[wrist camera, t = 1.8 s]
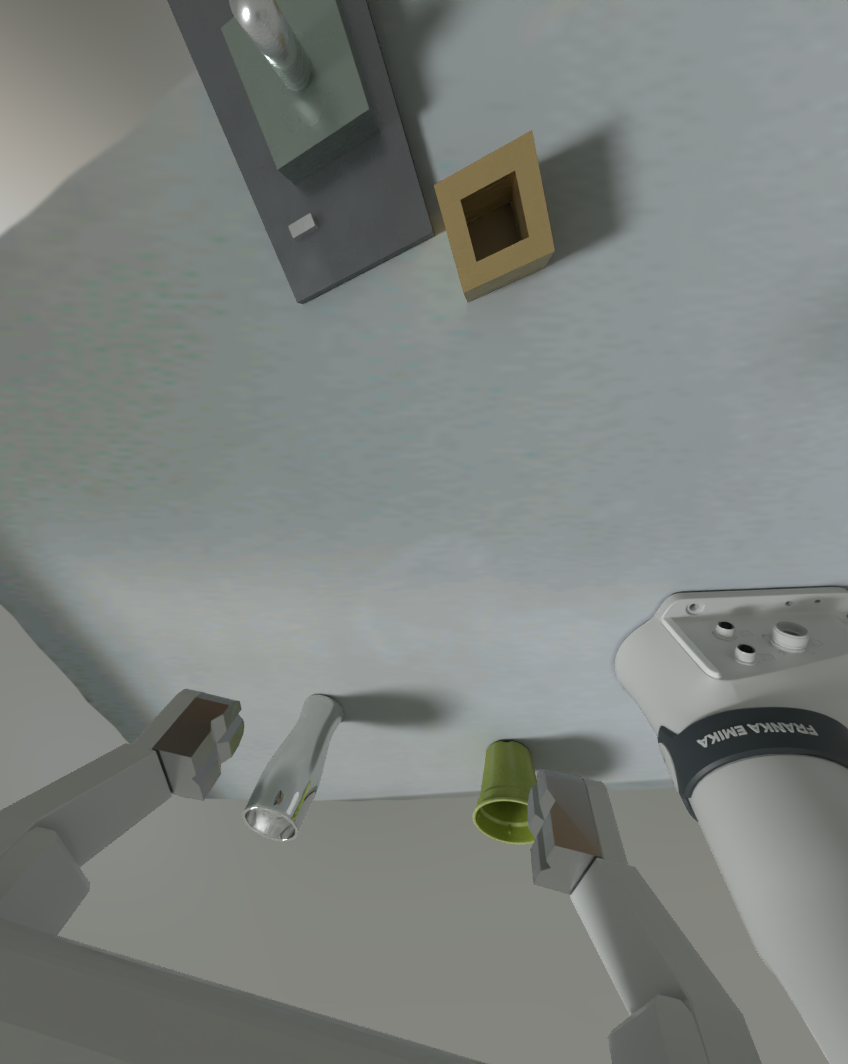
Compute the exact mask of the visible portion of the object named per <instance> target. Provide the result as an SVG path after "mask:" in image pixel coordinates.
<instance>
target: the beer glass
mask: <svg viewBox="0 0 848 1064" xmlns="http://www.w3.org/2000/svg"><path fill="white" fill-rule="evenodd" d="M343 714H344V713H343V709H342V707H341V705H340V704H339V703H338V702H337V701H335V700H334V699H332V698H330V697H328V696H325V695H312V696H309V697H308V698H307V699H306V700H305V702H304V704H303V707H302V711H301V714H300V716H299V719H298V721H297V723H296V725H295V726H294V728H293V729H292V731H291V732H290V734H289V735H288V736H287V738H286V739H285V740H284V741H283V743H282V744H281V745H280V747H279V748H278V749H277V751H276V752H275V754H274V755H273V756H272V758H271V759H270V761H269V762H268V764H267V766H266V767H265V769H264V771H263V773H262V774H261V776H260V778H259V780H258V782H257V784H256V786H255V788H254V790H253V793H252V795H251V797H250V799H249V801H248V804H247V806H246V808H245V810H244V811H243V814H242V818H243V821H244V823H245V824H246V825H247V826H248V827H249V828H250V829H251V830H252V831H253V832H255V833H257V834H258V835H260V836H262V837H265V838H268V839H270V840H274V841H283V842H285V841H291V840H293V839H295V838H296V837H297V835H298V832H299V830H300V828H301V826H302V824H303V821H304V819H305V817H306V815H307V813H308V811H309V809H310V807H311V804H312V802H313V800H314V797H315V795H316V792H317V789H318V786H319V783H320V780H321V776H322V773H323V768H324V764H325V760H326V755H327V751H328V747H329V743H330V740H331V738H332V735H333V733H334V731H335V730H336V728H337V727H338V725H339V723H340V722H341V720H342V718H343Z"/></svg>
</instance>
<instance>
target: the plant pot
mask: <svg viewBox="0 0 848 1064" xmlns="http://www.w3.org/2000/svg"><path fill="white" fill-rule="evenodd" d="M535 784H537V779H536V775H535V771H534V766H533V762H532V758H531V755H530V752H529V750H528V749H527V748H526V747H525V746H523V745H522V744H520V743H517V742H514V741H510V742H503V741H497V742H495V743H493V744H491V745H490V746H489V747H488V748H487V751H486V758H485V766H484V773H483V780H482V787H481V794H480V797H479V799H478V803H477V806H476V808H475V810H474V812H473V821H474V824H475V825H476V827H477V828H478V829H479V830H480V831H481V832H482V833H483V834H485V835H487V836H489V837H490V838H493V839H495V840H498V841H500V842H505V843H511V844H531V843H534V841H535V838H534V836H533V834H532V833H531V831H530V829H529V828H528V806H527V805H528V798H529V793H530V790H531V787H532V786H533V785H535Z"/></svg>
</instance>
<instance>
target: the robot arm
mask: <svg viewBox="0 0 848 1064" xmlns="http://www.w3.org/2000/svg"><path fill="white" fill-rule="evenodd" d="M692 604H694V605H693V606H690V605H692ZM615 672H616V676H617V679H618V681H619V683H620V684H621V686H622V687H623V688H624V689H625V691H626V692H627V693H628V694H629V695H630V696H631V697H632V699H633V700H634V701H635V703H636V704H637V705H638V707H639V708H640V710H641V711H642V713H643V714H644V716H645V717H646V719H647V721H648V722H649V724H650V726H651V727H652V729H653V731H654V732H655V734H656V736H657V738H658V743H659V750H660V753H661V755H662V758H663V760H664V763H665V765H666V767H667V770H668V772H669V774H670V777H671V779H672V781H673V784H674V786H675V788H676V790H677V792H679V794H680V796H681V798H682V800H683V802H684V804H685V806H686V808H687V810H688V812H689V813H690V815H691V816H692V817H693V818H694V819H695V820H696V821H697V822H699V824H700V827H701V829H702V831H703V833H704V836H705V838H706V840H707V842H708V845H709V847H710V849H711V851H712V853H713V856H714V858H715V860H716V863H717V865H718V867H719V869H720V871H721V874H722V876H723V878H724V880H725V883H726V885H727V887H728V889H729V892H730V894H731V896H732V898H733V900H734V903H735V905H736V907H737V909H738V911H739V914H740V916H741V918H742V921H743V923H744V925H745V927H746V929H747V931H748V934H749V936H750V938H751V940H752V942H753V945H754V947H755V949H756V950H757V952H758V954H759V955H760V957H761V958H762V960H763V961H764V963H765V964H766V965H767V967H768V968H769V969H770V970H771V971H772V972H773V973H774V974H775V975H776V977H777V978H778V980H779V981H780V983H781V984H782V986H783V987H784V989H785V990H786V992H787V994H788V995H789V997H790V998H791V1000H792V1002H793V1003H794V1005H795V1006H796V1008H797V1009H798V1011H799V1013H800V1015H801V1016H802V1018H803V1020H804V1021H805V1023H806V1025H807V1026H808V1028H809V1030H810V1031H811V1033H812V1035H813V1036H814V1038H815V1040H816V1041H817V1043H818V1045H819V1046H820V1048H821V1050H822V1052H823V1053H824V1055H825V1057H826V1058H827V1060H828V1062H829V1064H848V591H847V590H846V589H845V588H842V587H820V588H794V589H768V590H742V591H716V592H690V593H676V594H673V595H671V596H669V597H668V598H667V599H666V600H665V601H664V602H663V603H662V604H661V606H660V607H659V609H658V610H657V612H656V613H655V615H654V616H653V617H652V618H651V619H650V620H648V621H647V622H646V623H644V624H643V625H641V626H640V627H638V628H637V629H636V630H635V631H633V632H632V633H631V634H630V635H629V636H628V637H627V638H626V639H625V641H624V642H623V643H622V645H621V647H620V648H619V650H618V653H617V655H616V659H615ZM240 711H241V705H240V701H237V700H233V699H229V698H224V697H220V696H215V695H211V694H207V693H204V692H199V691H195V690H190V689H184V690H183V691H181V692H179V693H178V694H177V695H176V696H175V697H174V698H173V699H172V700H171V701H170V703H169V704H168V705H167V706H166V707H165V708H164V709H163V710H162V711H161V712H160V713H159V715H158V716H157V717H156V718H155V719H154V720H153V721H152V722H151V723H150V724H149V725H148V727H147V728H146V729H145V730H144V731H143V732H142V733H141V734H140V735H139V736H138V737H137V739H136V740H135V741H134V742H133V743H132V744H124V745H122V746H120V747H118V748H116V749H114V750H113V751H111V752H109V753H107V754H105V755H103V756H101V757H100V758H98V759H96V760H94V761H92V762H90V763H88V764H86V765H85V766H83V767H81V768H79V769H77V770H75V771H73V772H71V773H70V774H68V775H66V776H64V777H62V778H60V779H58V780H57V781H55V782H53V783H51V784H49V785H47V786H45V787H43V788H42V789H40V790H38V791H36V792H34V793H32V794H30V795H28V796H27V797H25V798H23V799H21V800H19V801H17V802H16V803H14V804H12V805H10V806H8V807H6V808H4V809H3V810H1V811H0V1064H487V1063H484V1062H480V1061H477V1060H473V1059H470V1058H467V1057H464V1056H460V1055H457V1054H453V1053H450V1052H447V1051H443V1050H440V1049H437V1048H433V1047H430V1046H426V1045H423V1044H420V1043H416V1042H413V1041H410V1040H406V1039H403V1038H399V1037H396V1036H393V1035H390V1034H386V1033H383V1032H380V1031H376V1030H373V1029H370V1028H366V1027H363V1026H359V1025H356V1024H353V1023H349V1022H345V1021H343V1020H339V1019H336V1018H332V1017H329V1016H326V1015H322V1014H319V1013H316V1012H312V1011H309V1010H306V1009H302V1008H299V1007H296V1006H292V1005H289V1004H286V1003H282V1002H279V1001H276V1000H272V999H268V998H265V997H262V996H258V995H255V994H252V993H249V992H245V991H242V990H239V989H235V988H232V987H229V986H225V985H222V984H218V983H215V982H212V981H208V980H205V979H202V978H198V977H195V976H192V975H188V974H185V973H181V972H178V971H175V970H172V969H168V968H165V967H161V966H158V965H154V964H151V963H148V962H144V961H141V960H138V959H134V958H131V957H128V956H125V955H121V954H118V953H114V952H111V951H107V950H104V949H101V948H98V947H94V946H91V945H88V944H84V943H81V942H77V941H74V940H71V939H67V938H64V937H60V936H57V935H58V933H59V932H60V931H61V929H62V928H63V926H64V925H65V924H66V922H67V921H68V920H69V918H70V917H71V916H72V914H73V913H74V911H75V910H76V909H77V907H78V906H79V905H80V903H81V902H82V900H83V899H84V898H85V896H86V895H87V894H88V892H89V889H90V882H89V881H88V879H87V878H86V876H85V875H84V873H83V872H82V870H81V869H80V867H81V866H82V865H83V864H85V863H86V862H87V861H89V860H90V859H91V858H92V857H94V856H95V855H96V854H98V853H99V852H100V851H102V850H103V849H104V848H105V847H107V846H108V845H109V844H111V843H112V842H113V841H114V840H116V839H117V838H118V837H120V836H121V835H122V834H124V833H125V832H126V831H128V830H129V829H130V828H131V827H133V826H134V825H135V824H137V823H138V822H139V821H141V820H142V819H143V818H144V817H146V816H147V815H148V814H150V813H151V812H152V811H154V810H155V809H156V808H157V807H159V806H160V805H161V804H162V803H164V802H165V801H166V800H168V799H169V798H170V797H172V794H174V795H179V796H183V797H188V798H193V799H197V800H202V801H204V800H205V798H206V796H207V795H208V793H209V792H210V790H211V789H212V787H213V786H214V784H215V782H216V781H217V779H218V778H219V776H220V775H221V764H222V763H223V762H225V761H226V760H228V759H229V758H231V757H232V756H233V754H234V752H235V751H236V749H237V747H238V746H239V743H240V741H241V738H242V736H243V731H244V721H243V719H242V718H241V717H240V716H239V715H238V714H239V712H240ZM536 777H537V784H535V785H533V786H532V787H531V790H530V793H529V798H528V805H527V806H528V828H529V829H530V831H531V833H532V834H533V836H534V838H535V841H534V843H533V845H532V847H531V849H530V851H531V862H532V872H533V883H534V884H535V885H538V886H542V887H545V888H549V889H552V890H556V891H560V892H563V893H566V894H570V895H571V896H570V898H571V900H572V902H573V904H574V906H575V908H576V910H577V912H578V914H579V916H580V918H581V920H582V922H583V924H584V926H585V928H586V930H587V932H588V934H589V936H590V938H591V940H592V941H593V944H594V945H595V948H596V949H597V951H598V953H599V956H600V958H601V959H602V961H603V963H604V965H605V967H606V969H607V971H608V973H609V975H610V977H611V979H612V981H613V983H614V985H615V987H616V989H617V991H618V993H619V995H620V997H621V999H622V1001H623V1003H624V1005H625V1007H626V1009H627V1011H628V1013H629V1015H630V1017H628V1018H627V1019H626V1020H625V1021H623V1022H622V1023H621V1024H619V1025H618V1026H617V1027H616V1028H614V1029H613V1030H612V1032H611V1033H610V1035H609V1036H608V1041H609V1047H610V1053H611V1059H612V1064H762V1063H761V1061H760V1058H759V1055H758V1053H757V1050H756V1048H755V1045H754V1043H753V1040H752V1037H751V1035H750V1032H749V1030H748V1027H747V1025H746V1022H745V1019H744V1017H743V1014H742V1013H741V1012H740V1010H739V1009H738V1008H737V1006H736V1005H735V1004H734V1002H733V1001H732V999H731V998H730V997H729V995H728V994H727V993H726V991H725V990H724V988H723V987H722V986H721V984H720V983H719V982H718V980H717V979H716V977H715V976H714V975H713V973H712V972H711V971H710V969H709V968H708V966H707V965H706V964H705V962H704V961H703V960H702V958H701V957H700V955H699V954H698V953H697V951H696V950H695V949H694V947H693V946H692V944H691V943H690V942H689V940H688V939H687V938H686V936H685V935H684V933H683V932H682V931H681V929H680V928H679V927H678V925H677V924H676V923H675V921H674V920H673V918H672V917H671V916H670V914H669V913H668V912H667V910H666V909H665V908H664V906H663V905H662V903H661V902H660V901H659V899H658V898H657V896H656V895H655V894H654V892H653V891H652V890H651V888H650V887H649V885H648V884H647V883H646V881H645V880H644V879H643V877H642V876H641V874H640V873H639V872H638V871H637V869H636V868H635V867H634V866H630V865H628V862H627V859H626V855H625V852H624V848H623V844H622V841H621V837H620V834H619V831H618V827H617V823H616V820H615V816H614V812H613V809H612V805H611V802H610V798H609V795H608V791H607V788H606V787H605V785H604V783H602V782H601V781H597V780H592V779H588V778H583V777H580V776H576V775H571V774H566V773H561V772H556V771H551V770H546V769H540V770H539V771H538V773H537V776H536Z"/></svg>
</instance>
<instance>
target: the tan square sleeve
mask: <svg viewBox="0 0 848 1064" xmlns="http://www.w3.org/2000/svg"><path fill="white" fill-rule="evenodd" d="M434 189H435V192H436V196H437V199H438V203H439V206H440V210H441V214H442V217H443V221H444V224H445V228H446V232H447V235H448V239H449V242H450V246H451V250H452V253H453V257H454V260H455V264H456V268H457V271H458V275H459V278H460V282H461V285H462V289H463V293H464V295H465V298H466V300H467V302H470V301H472V300H474V299H476V298H478V297H481V296H483V295H485V294H487V293H490V292H492V291H494V290H496V289H499V288H501V287H503V286H505V285H507V284H510V283H512V282H514V281H516V280H519V279H521V278H523V277H525V276H527V275H530V274H532V273H534V272H536V271H539V270H541V269H543V268H545V266H546V264H547V263H548V261H549V260H550V258H551V256H552V255H553V253H554V252H555V248H554V243H553V238H552V232H551V227H550V222H549V217H548V211H547V206H546V201H545V196H544V190H543V185H542V180H541V175H540V169H539V164H538V159H537V154H536V148H535V143H534V138H533V133H532V130H531V131H530V132H528V133H526V134H524V135H522V136H521V137H519V138H517V139H515V140H514V141H512V142H510V143H508V144H506V145H505V146H503V147H501V148H499V149H497V150H496V151H494V152H492V153H490V154H489V155H487V156H485V157H483V158H481V159H480V160H478V161H476V162H474V163H473V164H471V165H469V166H467V167H465V168H464V169H462V170H460V171H458V172H457V173H455V174H453V175H451V176H449V177H448V178H446V179H444V180H442V181H440V182H439V183H437V184H435V185H434ZM510 202H511V206H512V210H513V215H514V219H515V224H516V228H517V233H518V238H519V242H517V243H515V244H513V245H511V246H509V247H507V248H505V249H503V250H501V251H498V252H496V253H494V254H492V255H490V256H488V257H486V258H484V259H482V260H480V261H478V262H476V258H475V254H474V251H473V247H472V243H471V239H470V235H469V231H468V227H467V224H469V223H471V222H473V221H475V220H477V219H479V218H481V217H483V216H484V215H486V214H488V213H490V212H492V211H494V210H496V209H498V208H500V207H502V206H504V205H506V204H508V203H510Z"/></svg>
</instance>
